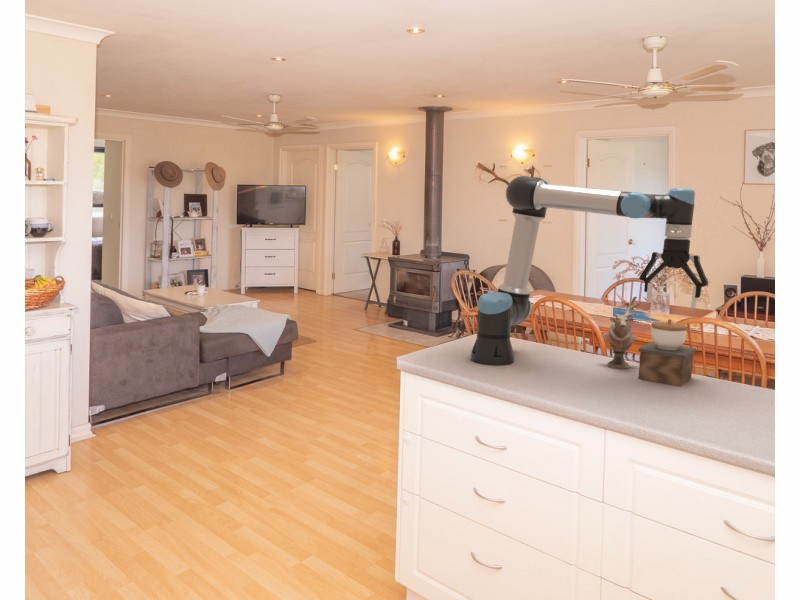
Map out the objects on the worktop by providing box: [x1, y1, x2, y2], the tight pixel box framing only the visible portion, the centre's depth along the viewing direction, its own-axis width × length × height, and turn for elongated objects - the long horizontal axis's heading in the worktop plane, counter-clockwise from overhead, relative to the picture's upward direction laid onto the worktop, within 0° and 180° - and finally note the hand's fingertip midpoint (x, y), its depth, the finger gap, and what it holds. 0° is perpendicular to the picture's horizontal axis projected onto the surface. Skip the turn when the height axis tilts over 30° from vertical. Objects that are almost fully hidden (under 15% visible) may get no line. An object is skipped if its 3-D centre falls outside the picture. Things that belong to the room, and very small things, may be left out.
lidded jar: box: [650, 318, 688, 350], centre depth 203 cm, size 11×11×9 cm
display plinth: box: [637, 341, 697, 387], centre depth 205 cm, size 14×14×10 cm
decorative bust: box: [601, 296, 642, 370], centre depth 217 cm, size 11×13×25 cm
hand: (670, 305), depth 202 cm, fingers open, 13 cm apart
